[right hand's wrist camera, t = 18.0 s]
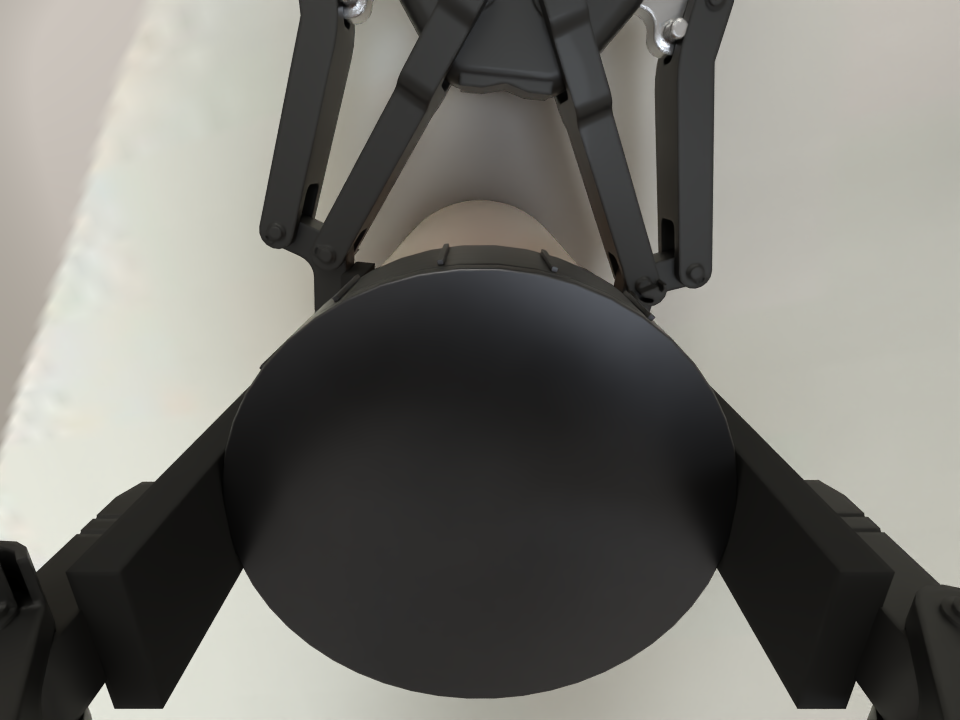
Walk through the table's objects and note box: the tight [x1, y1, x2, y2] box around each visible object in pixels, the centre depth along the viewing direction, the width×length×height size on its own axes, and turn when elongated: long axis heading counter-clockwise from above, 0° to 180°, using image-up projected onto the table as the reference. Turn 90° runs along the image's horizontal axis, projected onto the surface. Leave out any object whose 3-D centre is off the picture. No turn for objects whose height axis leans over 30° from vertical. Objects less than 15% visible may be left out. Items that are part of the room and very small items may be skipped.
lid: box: [222, 243, 738, 698], centre depth 11 cm, size 10×10×2 cm
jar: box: [382, 200, 579, 266], centre depth 19 cm, size 9×9×18 cm
